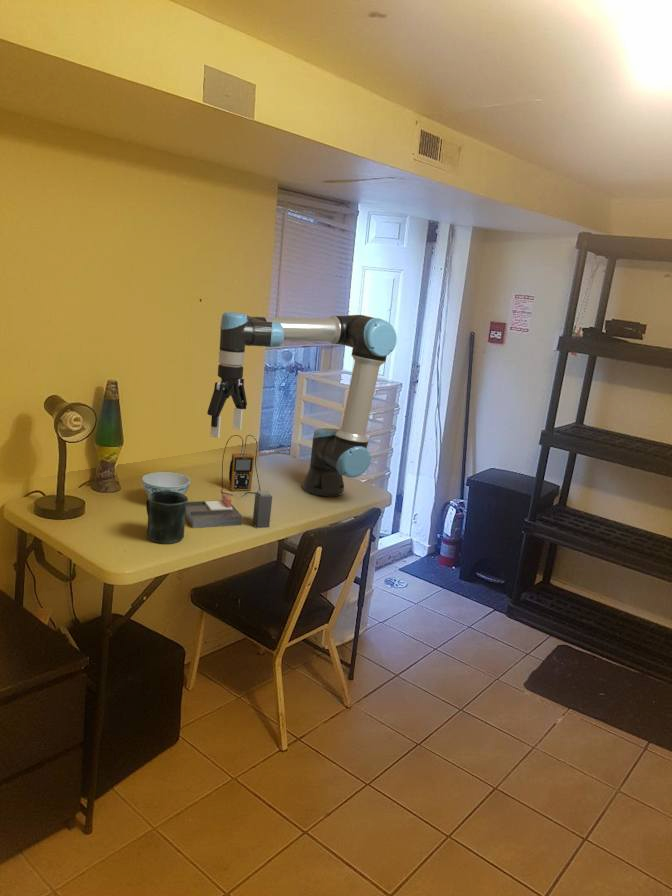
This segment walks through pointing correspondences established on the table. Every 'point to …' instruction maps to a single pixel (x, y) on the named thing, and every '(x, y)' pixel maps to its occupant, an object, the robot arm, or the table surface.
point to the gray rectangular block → (262, 509)
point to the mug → (166, 516)
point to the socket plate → (211, 516)
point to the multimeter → (241, 470)
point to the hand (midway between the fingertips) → (226, 433)
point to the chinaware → (165, 482)
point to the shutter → (220, 504)
